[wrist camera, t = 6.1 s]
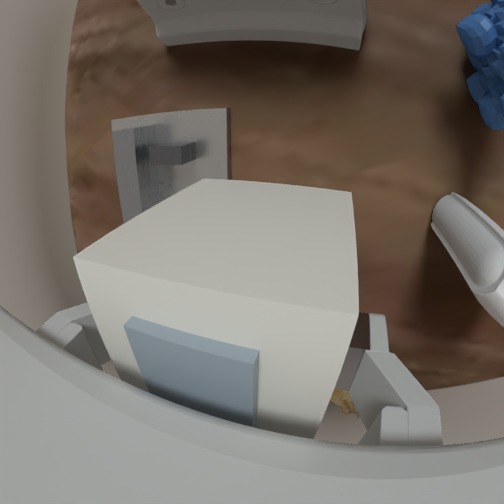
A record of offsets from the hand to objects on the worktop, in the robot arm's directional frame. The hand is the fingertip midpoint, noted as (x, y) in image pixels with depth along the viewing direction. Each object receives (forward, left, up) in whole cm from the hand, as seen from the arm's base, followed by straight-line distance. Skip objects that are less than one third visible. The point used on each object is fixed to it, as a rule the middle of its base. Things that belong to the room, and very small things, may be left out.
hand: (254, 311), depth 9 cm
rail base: (+12, +3, -16) cm, 20 cm away
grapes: (-13, -13, -16) cm, 24 cm away
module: (0, 0, -2) cm, 2 cm away
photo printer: (-16, +2, -16) cm, 22 cm away
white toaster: (+4, -16, -16) cm, 23 cm away
